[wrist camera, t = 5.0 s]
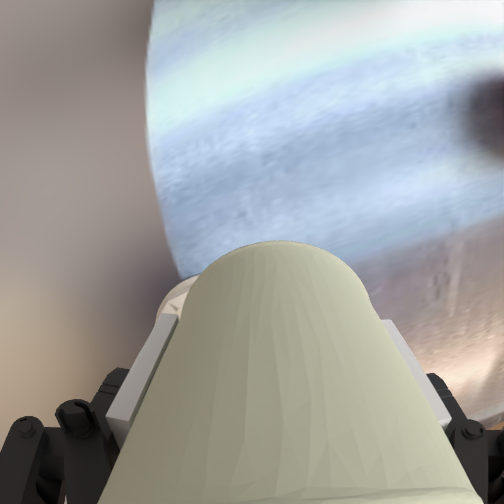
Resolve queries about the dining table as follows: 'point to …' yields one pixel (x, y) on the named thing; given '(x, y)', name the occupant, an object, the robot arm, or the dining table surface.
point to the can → (284, 397)
